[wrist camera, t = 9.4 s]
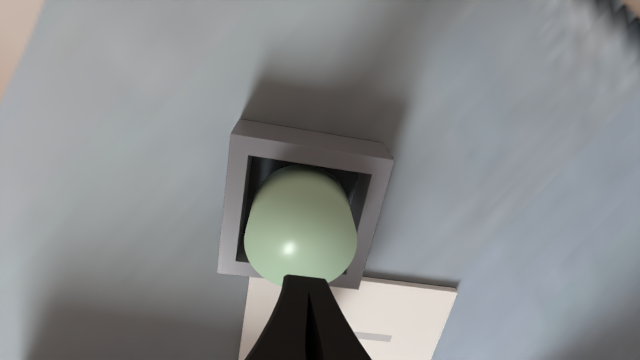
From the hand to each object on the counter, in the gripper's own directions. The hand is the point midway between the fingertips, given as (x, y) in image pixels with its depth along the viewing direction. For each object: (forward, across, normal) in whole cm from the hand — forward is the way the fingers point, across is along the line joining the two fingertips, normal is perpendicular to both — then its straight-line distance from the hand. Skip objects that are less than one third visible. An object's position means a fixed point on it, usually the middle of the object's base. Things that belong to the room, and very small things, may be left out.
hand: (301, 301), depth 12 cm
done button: (+6, 0, 0) cm, 6 cm away
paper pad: (+8, -4, +9) cm, 13 cm away
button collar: (+8, 0, 0) cm, 8 cm away
